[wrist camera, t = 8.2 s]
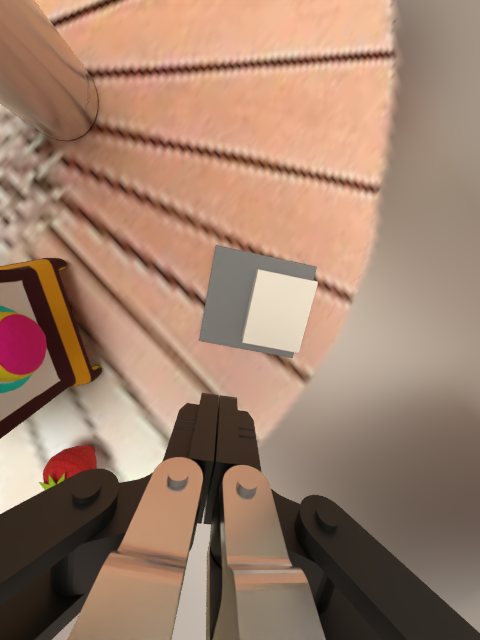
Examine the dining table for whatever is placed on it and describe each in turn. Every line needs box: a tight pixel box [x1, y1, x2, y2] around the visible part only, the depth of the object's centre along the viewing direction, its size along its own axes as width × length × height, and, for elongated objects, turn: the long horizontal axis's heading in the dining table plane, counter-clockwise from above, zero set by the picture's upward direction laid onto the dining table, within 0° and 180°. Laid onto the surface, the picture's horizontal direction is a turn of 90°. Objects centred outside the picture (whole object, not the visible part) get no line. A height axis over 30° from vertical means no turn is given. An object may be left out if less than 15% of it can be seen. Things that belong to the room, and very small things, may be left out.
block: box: [242, 269, 318, 353], centre depth 34 cm, size 3×10×8 cm
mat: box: [199, 245, 317, 358], centre depth 36 cm, size 14×14×1 cm
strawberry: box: [39, 445, 96, 490], centre depth 36 cm, size 6×8×10 cm
